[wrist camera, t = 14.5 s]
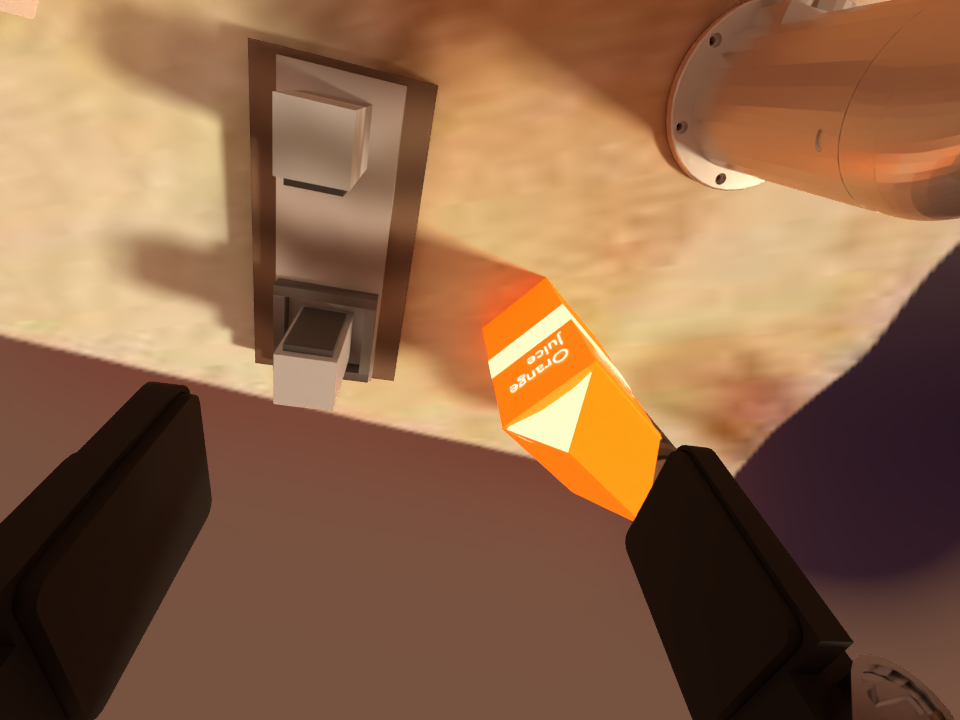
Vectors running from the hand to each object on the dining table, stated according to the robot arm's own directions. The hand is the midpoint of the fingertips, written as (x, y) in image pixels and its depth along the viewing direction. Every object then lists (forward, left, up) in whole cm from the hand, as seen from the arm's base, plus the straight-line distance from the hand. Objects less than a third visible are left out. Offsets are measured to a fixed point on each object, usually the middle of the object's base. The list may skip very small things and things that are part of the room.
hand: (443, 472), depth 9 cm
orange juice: (+11, +12, -32) cm, 36 cm away
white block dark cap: (+12, -7, -28) cm, 32 cm away
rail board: (+5, -7, -31) cm, 33 cm away
